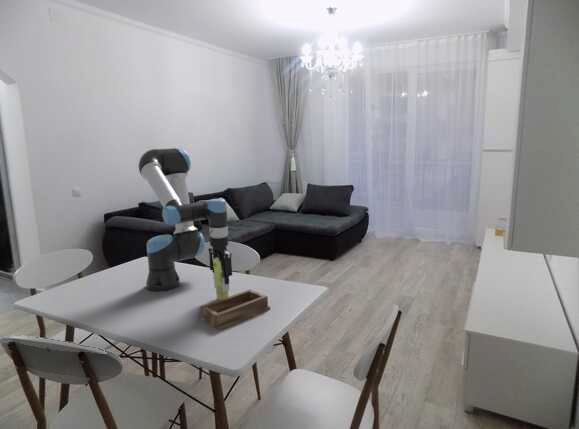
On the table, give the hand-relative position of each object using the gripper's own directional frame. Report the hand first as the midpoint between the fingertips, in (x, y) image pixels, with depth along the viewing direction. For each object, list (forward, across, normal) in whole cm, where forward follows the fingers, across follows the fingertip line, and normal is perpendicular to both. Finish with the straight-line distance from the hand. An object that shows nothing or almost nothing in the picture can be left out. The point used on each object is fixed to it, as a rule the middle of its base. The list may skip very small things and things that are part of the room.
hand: (221, 288), depth 168 cm
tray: (+4, +16, -5) cm, 18 cm away
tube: (+5, 0, 0) cm, 5 cm away
